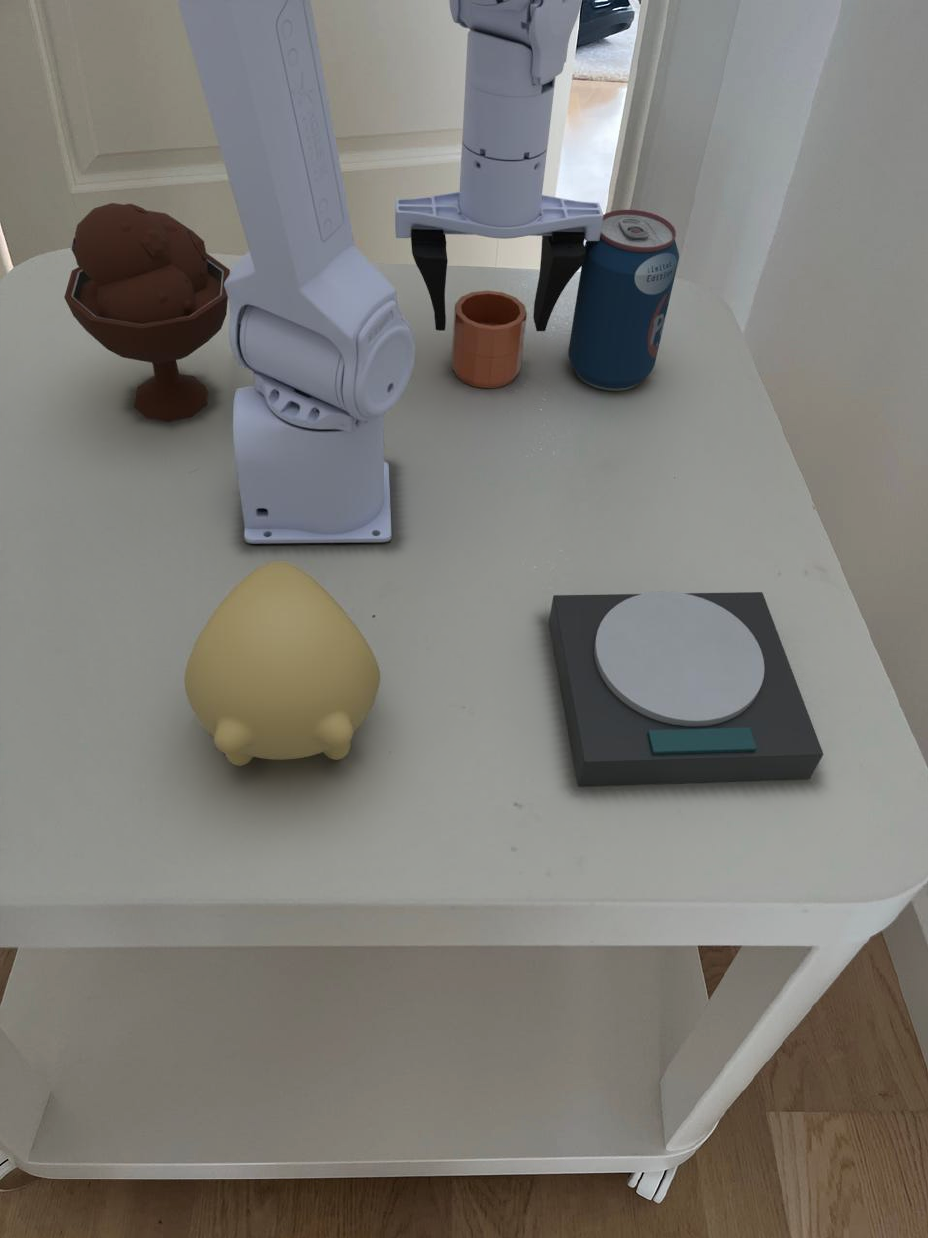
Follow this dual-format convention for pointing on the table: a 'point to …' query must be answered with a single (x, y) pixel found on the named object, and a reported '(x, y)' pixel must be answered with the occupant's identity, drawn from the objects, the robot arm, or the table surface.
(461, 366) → the terracotta cup
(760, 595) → the scale
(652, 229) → the soda can
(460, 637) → the table surface
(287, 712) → the toy pig
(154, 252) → the ice cream bowl
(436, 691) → the table surface
